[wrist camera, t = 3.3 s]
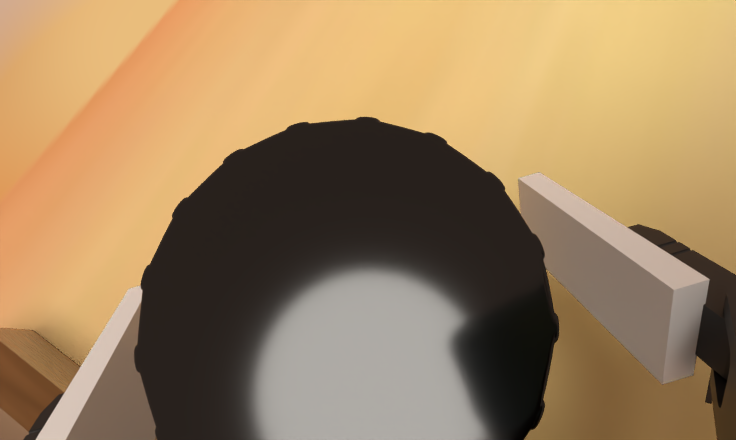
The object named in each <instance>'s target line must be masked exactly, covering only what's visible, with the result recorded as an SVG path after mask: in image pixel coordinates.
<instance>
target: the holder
mask: <svg viewBox="0 0 736 440" xmlns="http://www.w3.org/2000/svg"><path fill="white" fill-rule="evenodd" d="M62 393H64V392H63V391H62V390H60V389H59V388H58V387H57V386H55V385H54V384H53V383H52V382H50V381H49V380H48V379H47V378H45V377H44V376H43V375H42V374H40V373H39V372H38V371H37V370H35V369H34V368H33V367H32V366H30V365H29V364H28V363H27V362H25V361H24V360H23V359H22V358H20V357H19V356H18V355H17V354H16V353H14V352H13V351H12V350H11V349H9V348H8V347H7V346H6V345H4V344H3V343H2V342H1V341H0V440H23V439H24V438H25V436H26V435H29V430H30V429H31V427H32V425H33V424H34V422H35V421H36V419H37V418H38V416H39V415H40V413H41V412H42V411H43V410H44V409H45V408H46V407H47V406H48V405H49V404H50V403H51V402H52V401H53V400H54V399H55V398H56V397H57V396H58V395H59V394H62Z"/></svg>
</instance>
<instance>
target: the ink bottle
mask: <svg viewBox="0 0 736 440" xmlns="http://www.w3.org/2000/svg"><path fill="white" fill-rule="evenodd" d="M172 218H173V219H172V221H171V223H170V225H169V226H168V228H167V230H166V232H165V234H164V236H163V238H162V240H161V242H160V244H159V246H158V249H157V251H156V253H155V255H154V257H153V259H152V261H151V263H150V264H149V265H148V266H147V267H146V269H145V271H144V273H143V276H142V280H141V289H142V299H141V308H140V318H139V329H138V342H137V345H136V346H135V349H134V362H135V367H136V370H137V372H139V373H140V375H141V379H142V382H143V386H144V390H145V393H146V396H147V400H148V403H149V406H150V410H151V413H152V416H153V419H154V422H155V425H156V428H155V435H156V438H157V440H524V439H525V437H526V436H527V434H528V433H529V431H530V430H533V429H535V428H536V427H537V425H538V424H539V422H540V420H541V417H542V415H543V412H544V408H545V403H544V400H543V398H544V394H545V389H546V385H547V380H548V375H549V370H550V365H551V360H552V354H553V348H554V343H555V342H556V341H557V340H558V337H559V320H558V316H557V315H556V313H555V312H554V309H553V303H552V297H551V292H550V287H549V282H548V278H547V273H546V269H545V264H544V260H543V259H544V257H545V252H544V249H543V246H542V244H541V241H540V239H539V238H538V236H537V235H536V234H534V233H532V231H531V230H530V228H529V227H528V225H527V223H526V222H525V220H524V219H523V217H522V216H521V214H520V213H519V211H518V210H517V208H516V207H515V205H514V204H513V202H512V201H511V199H510V198H509V196H508V195H507V193H506V192H505V187H504V185H503V183H502V182H501V181H500V180H499V179H498V178H497V177H496V176H495V175H494V174H493V173H491V172H486V171H485V170H483V169H482V168H481V167H479V166H478V165H477V164H475V163H474V162H472V161H471V160H470V159H468V158H467V157H465V156H464V155H463V154H461V153H460V152H458V151H457V150H455V149H454V148H452V147H451V146H449V145H448V144H447V142H446V140H445V139H443V138H441V137H440V136H438V135H435V134H433V133H421V132H418V131H415V130H411V129H407V128H404V127H400V126H396V125H392V124H388V123H384V122H380V121H379V120H378V119H376V118H372V117H359V118H357V119H355V120H341V121H330V122H320V123H308V122H302V123H297V124H294V125H291V126H289V127H288V128H287V129H286V130H285V131H282V132H280V133H278V134H276V135H273V136H271V137H269V138H267V139H265V140H262V141H260V142H258V143H256V144H254V145H252V146H250V147H248V148H246V149H239V150H237V151H235V152H233V153H232V154H230V155H229V156H228V157H226V158H225V159H224V161H223V164H222V165H221V166H220V167H219V168H218V169H217V170H215V171H214V172H213V173H212V174H211V175H210V176H209V177H208V178H207V179H206V180H205V181H204V182H203V183H202V184H201V185H200V186H199V187H198V188H197V189H196V190H195V191H194V192H193V193H192V194H191V195H190V196H189V197H187V198H184V199H183V200H182V201H181V202H180V203H179V204H178V206H177V207H176V208H175V210H174V212H173V214H172Z"/></svg>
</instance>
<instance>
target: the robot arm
mask: <svg viewBox="0 0 736 440" xmlns="http://www.w3.org/2000/svg"><path fill="white" fill-rule="evenodd" d="M518 185H519V198H520V211H521V216H522V217H523V219H524V220H525V222H526V223H527V225H528V227H529V228H530V230H531V231H532V233H534V234H536V235H537V236H538V238H539V239H540V241H541V244H542V246H543V249H544V252H545V257H544V259H543V260H544V264H545V268H546V269H547V270H548V271H549V272H550V273H551V274H552V275H553V276H554V277H555V278H556V279H557V280H558V281H559V282H560V283H561V284H562V285H563V286H564V287H565V288H566V289H567V290H568V291H569V292H570V293H571V294H572V295H573V296H574V297H575V298H576V299H577V300H578V301H579V302H580V303H581V304H582V305H583V306H584V307H585V308H586V309H587V310H588V311H589V312H590V313H591V314H592V315H593V316H594V317H595V318H596V319H597V320H598V321H599V322H600V323H601V324H602V325H603V326H604V327H605V328H606V329H607V330H608V331H609V332H610V333H611V334H612V335H613V336H614V337H615V338H616V339H617V340H618V341H619V342H620V343H621V344H622V345H623V346H624V347H625V348H626V349H627V350H628V351H629V352H630V353H631V354H632V355H633V356H634V357H635V358H636V359H637V360H638V361H639V362H640V363H641V364H642V365H643V366H644V367H645V368H646V369H647V370H648V371H649V372H650V373H651V374H652V375H653V376H654V377H655V378H656V379H657V380H658V381H659V382H660V383H661V384H662V385H663V384H666V383H669V382H673V381H676V380H679V379H682V378H686V377H689V376H692V375H694V369H695V363H696V357H697V356H698V357H699V358H700V359H701V360H703V361H704V362H705V363H706V364H707V365H709V366H710V367H711V368H712V370H711V375H710V380H709V385H708V390H707V395H706V400H705V402H706V403H710V404H711V403H712V402H713V410H714V418H715V426H716V435H717V440H736V275H735V274H733V273H731V272H730V271H728V270H726V269H725V268H723V267H721V266H719V265H718V264H716V263H714V262H713V261H711V260H709V259H707V258H706V257H704V256H702V255H700V254H699V253H697V252H695V251H694V250H692V251H691V250H690V248H688V247H687V246H685V245H683V244H682V243H680V242H678V243H677V242H676V240H675V239H673V238H671V237H670V236H668V235H666V234H664V233H663V232H661V231H659V230H656V229H652V228H649V227H645V226H642V225H639V224H638V225H634V226H631V227H628V228H627V227H626V226H624V225H623V224H621V223H619V222H618V221H616V220H615V219H613V218H611V217H610V216H608V215H607V214H605V213H603V212H602V211H600V210H599V209H597V208H596V207H594V206H592V205H591V204H589V203H588V202H586V201H584V200H583V199H581V198H580V197H578V196H576V195H575V194H573V193H572V192H570V191H569V190H567V189H565V188H564V187H562V186H561V185H559V184H557V183H556V182H554V181H553V180H551V179H549V178H548V177H546V176H545V175H543V174H541V173H540V172H538V173H535V174H531V175H528V176H524V177H520V178H518ZM141 299H142V289H141V286H137V287H134V288H130V289H128V291H127V293H126V294H125V296H124V297H123V299H122V301H121V302H120V304H119V305H118V307H117V309H116V310H115V312H114V314H113V315H112V317H111V318H110V320H109V322H108V323H107V325H106V327H105V328H104V330H103V331H102V333H101V335H100V336H99V338H98V339H97V341H96V343H95V344H94V346H93V348H92V349H91V351H90V352H89V354H88V356H87V357H86V359H85V361H84V362H83V364H82V365H81V367H80V369H79V370H78V372H77V373H76V375H75V377H74V378H73V380H72V382H71V383H70V385H69V386H68V388H67V390H66V391H65V393H62V394H59V395H58V396H57V397H56V398H55V399H54V400H53V401H52V402H51V403H50V404H49V405H48V406H47V407H46V408H45V409H44V410H43V411H42V412H41V413H40V415H39V416H38V418H37V419H36V421H35V422H34V424H33V425H32V427H31V429H30V430H29V435H26V436H25V438H24V439H23V440H155V437H156V435H155V428H156V425H155V422H154V419H153V416H152V413H151V410H150V406H149V403H148V400H147V396H146V393H145V390H144V386H143V382H142V379H141V375H140V373H139V372H137V370H136V367H135V362H134V349H135V346H136V345H137V342H138V329H139V318H140V308H141Z"/></svg>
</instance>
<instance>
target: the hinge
mask: <svg viewBox="0 0 736 440" xmlns="http://www.w3.org/2000/svg"><path fill="white" fill-rule="evenodd" d="M0 341H1V342H2V343H3V344H4V345H6V346H7V347H8V348H9V349H11V350H12V351H13V352H14V353H16V354H17V355H18V356H19V357H20V358H22V359H23V360H24V361H25V362H27V363H28V364H29V365H30V366H32V367H33V368H34V369H35V370H37V371H38V372H39V373H40V374H42V375H43V376H44V377H45V378H47V379H48V380H49V381H50V382H52V383H53V384H54V385H55V386H57V387H58V388H59V389H60V390H62V391H63V392H64V393H65V391H66V390H67V388H68V386H69V385H70V383H71V382H72V380H73V378H74V377H75V375H76V373H77V372H78V370H79V369H80V366H78V365H77V364H76V363H74V362H73V361H72V360H71V359H69V358H68V357H67V356H65V355H64V354H63V353H62V352H60V351H59V350H58V349H56V348H55V347H54V346H53V345H51V344H50V343H49V342H47V341H46V340H45V339H44V338H42V337H41V336H40V335H38V334H37V333H36V332H34V331H33V330H23V329H10V328H0ZM155 440H157V438H156V437H155Z"/></svg>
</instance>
